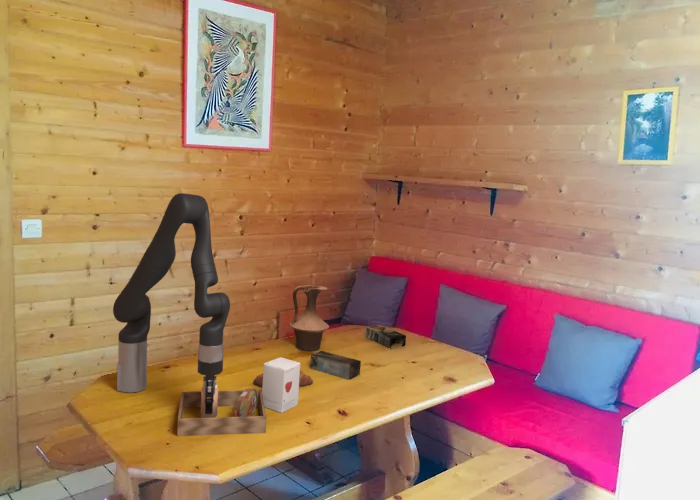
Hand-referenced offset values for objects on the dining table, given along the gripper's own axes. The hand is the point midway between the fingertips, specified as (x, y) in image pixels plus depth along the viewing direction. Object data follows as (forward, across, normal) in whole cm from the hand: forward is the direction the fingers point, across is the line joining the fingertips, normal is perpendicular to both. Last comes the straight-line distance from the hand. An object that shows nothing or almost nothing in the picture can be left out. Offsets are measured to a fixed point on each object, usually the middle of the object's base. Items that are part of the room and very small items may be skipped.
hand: (208, 409), depth 187 cm
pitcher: (+4, -69, +41) cm, 80 cm away
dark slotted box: (+4, -77, +78) cm, 110 cm away
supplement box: (+3, -9, +23) cm, 25 cm away
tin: (+4, 0, +11) cm, 12 cm away
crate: (+3, 0, +4) cm, 5 cm away
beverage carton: (+4, -40, +48) cm, 62 cm away
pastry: (+4, -28, +26) cm, 38 cm away
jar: (+2, 0, 0) cm, 2 cm away
